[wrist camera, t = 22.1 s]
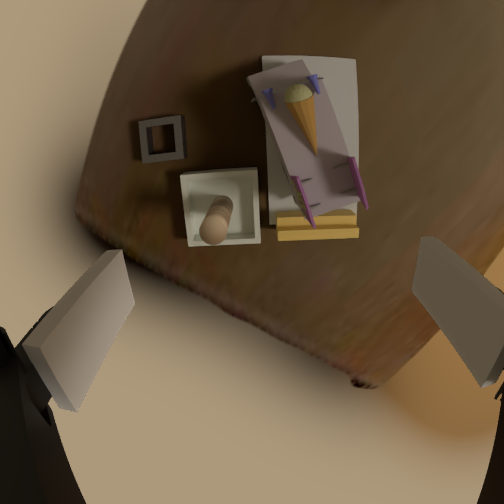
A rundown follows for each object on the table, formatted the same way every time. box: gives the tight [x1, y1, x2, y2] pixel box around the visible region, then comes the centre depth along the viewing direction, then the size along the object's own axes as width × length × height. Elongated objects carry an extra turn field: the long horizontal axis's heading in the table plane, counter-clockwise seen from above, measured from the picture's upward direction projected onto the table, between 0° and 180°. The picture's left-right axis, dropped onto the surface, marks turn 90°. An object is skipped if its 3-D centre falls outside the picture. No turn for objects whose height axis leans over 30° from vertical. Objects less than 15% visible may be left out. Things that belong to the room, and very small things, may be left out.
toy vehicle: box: [246, 59, 369, 228], centre depth 35 cm, size 9×20×15 cm, turn 21°
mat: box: [262, 56, 359, 224], centre depth 43 cm, size 26×14×1 cm, turn 3°
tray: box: [180, 167, 261, 246], centre depth 46 cm, size 11×11×3 cm
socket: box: [138, 115, 188, 163], centre depth 42 cm, size 6×6×2 cm
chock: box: [276, 210, 359, 241], centre depth 45 cm, size 3×12×4 cm, turn 93°
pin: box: [199, 196, 233, 245], centre depth 41 cm, size 3×3×12 cm
